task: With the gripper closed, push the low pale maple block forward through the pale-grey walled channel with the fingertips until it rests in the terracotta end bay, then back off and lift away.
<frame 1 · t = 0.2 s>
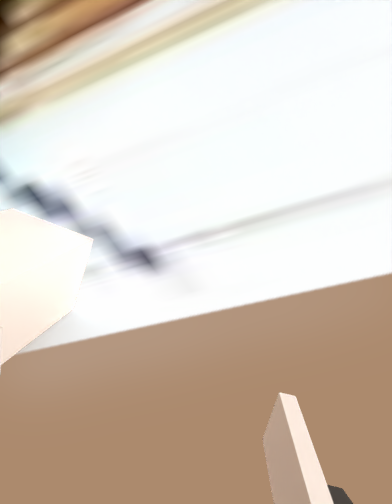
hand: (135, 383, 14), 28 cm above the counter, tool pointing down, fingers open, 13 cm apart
milk: (45, 260, 43), on the counter
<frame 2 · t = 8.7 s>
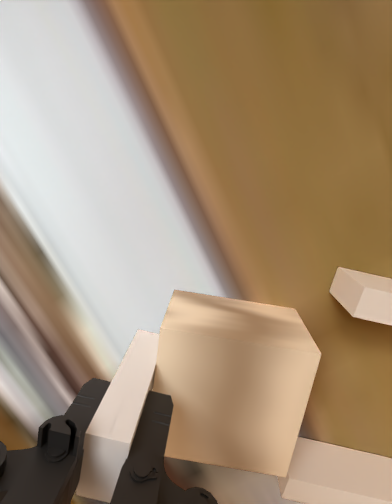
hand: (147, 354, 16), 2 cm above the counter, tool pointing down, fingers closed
maple block: (224, 350, 18), on the counter, touching gripper
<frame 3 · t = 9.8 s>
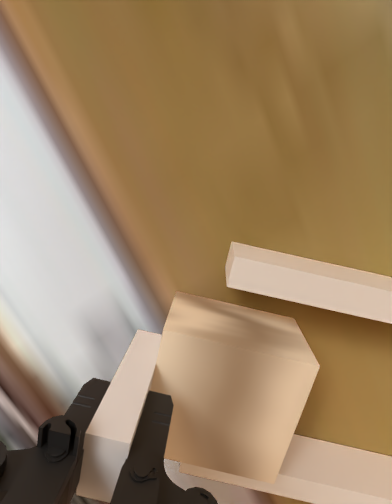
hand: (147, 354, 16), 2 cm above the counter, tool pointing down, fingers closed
maple block: (220, 354, 18), on the counter, touching gripper
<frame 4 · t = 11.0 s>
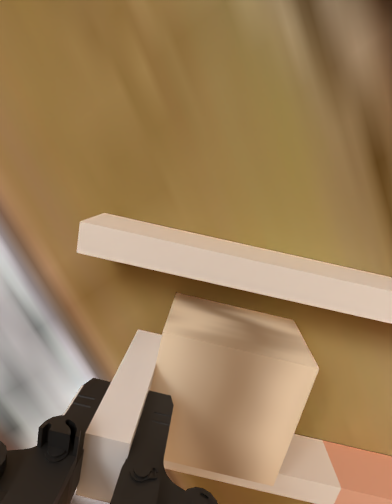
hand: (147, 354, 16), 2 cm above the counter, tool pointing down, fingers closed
maple block: (220, 356, 18), on the counter, touching gripper
channel: (300, 365, 18), on the counter
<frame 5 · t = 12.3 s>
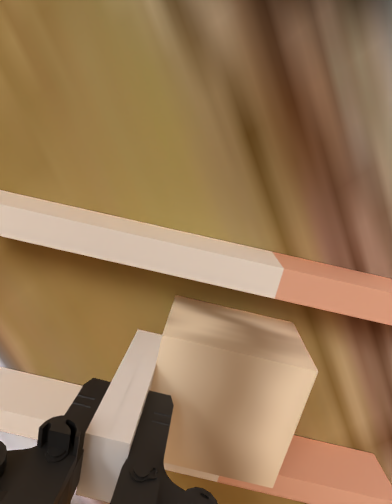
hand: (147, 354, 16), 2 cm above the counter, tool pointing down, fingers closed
maple block: (219, 358, 18), on the counter
channel: (193, 341, 18), on the counter
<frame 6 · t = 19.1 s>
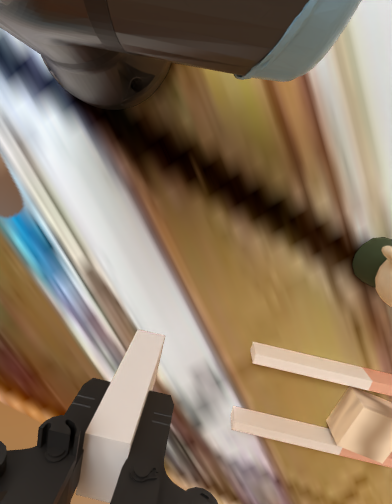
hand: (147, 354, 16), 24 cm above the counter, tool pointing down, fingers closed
maple block: (358, 410, 44), on the counter
channel: (326, 399, 44), on the counter
character mug: (374, 259, 38), on the counter
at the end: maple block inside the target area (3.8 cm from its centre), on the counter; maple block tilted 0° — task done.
